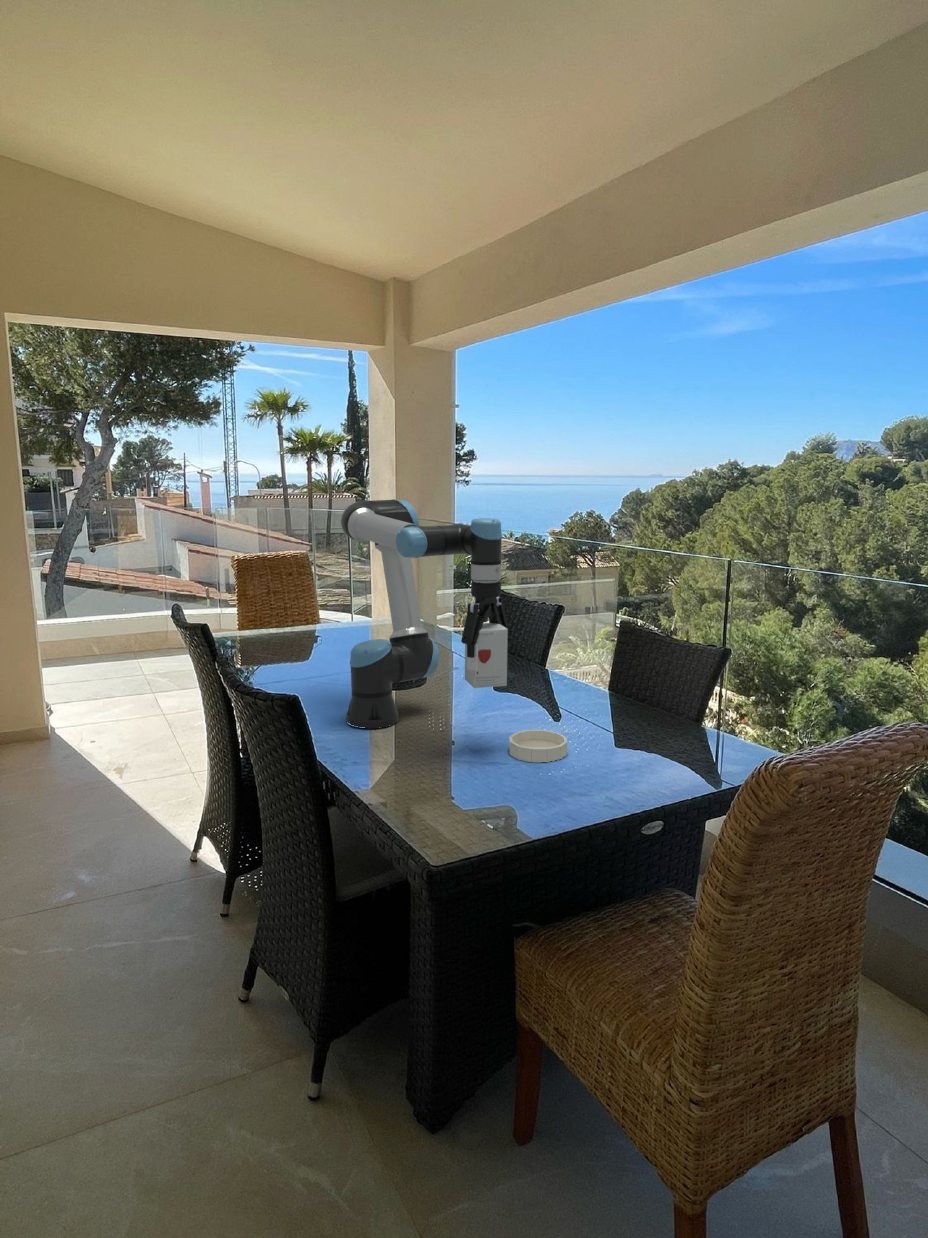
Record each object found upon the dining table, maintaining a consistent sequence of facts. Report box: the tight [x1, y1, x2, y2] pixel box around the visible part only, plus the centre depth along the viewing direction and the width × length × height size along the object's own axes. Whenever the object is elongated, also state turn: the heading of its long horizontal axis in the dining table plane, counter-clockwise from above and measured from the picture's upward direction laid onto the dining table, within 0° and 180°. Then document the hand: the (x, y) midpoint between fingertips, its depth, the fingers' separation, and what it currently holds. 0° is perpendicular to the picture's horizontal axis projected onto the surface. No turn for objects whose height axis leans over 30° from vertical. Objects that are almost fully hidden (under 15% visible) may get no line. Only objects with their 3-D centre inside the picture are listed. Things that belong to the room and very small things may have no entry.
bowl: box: [508, 729, 568, 763], centre depth 198 cm, size 15×15×4 cm
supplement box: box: [464, 622, 509, 689], centre depth 197 cm, size 9×9×15 cm
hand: (485, 664), depth 197 cm, fingers closed on supplement box, 12 cm apart
